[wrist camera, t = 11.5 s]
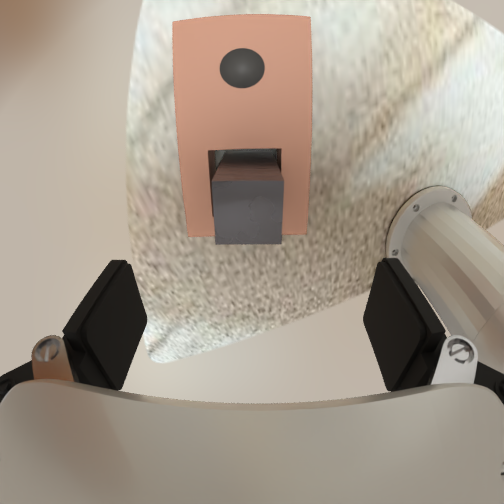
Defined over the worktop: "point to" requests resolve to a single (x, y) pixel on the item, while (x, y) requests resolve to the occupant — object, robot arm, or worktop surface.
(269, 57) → the bore block
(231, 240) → the square peg
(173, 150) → the worktop surface
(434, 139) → the worktop surface
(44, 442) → the robot arm
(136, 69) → the worktop surface
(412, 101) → the worktop surface
